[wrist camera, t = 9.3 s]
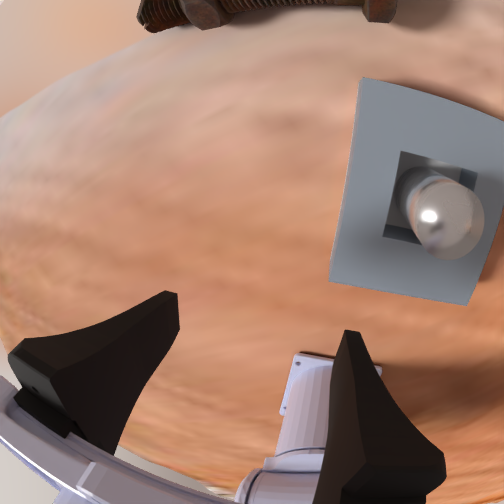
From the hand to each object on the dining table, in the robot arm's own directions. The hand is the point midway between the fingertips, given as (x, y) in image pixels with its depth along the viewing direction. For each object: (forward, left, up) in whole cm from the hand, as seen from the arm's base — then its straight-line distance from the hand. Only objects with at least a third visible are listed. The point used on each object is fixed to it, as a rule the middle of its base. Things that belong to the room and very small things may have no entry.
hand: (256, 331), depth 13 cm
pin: (+5, -8, -9) cm, 13 cm away
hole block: (+5, -8, -10) cm, 14 cm away
